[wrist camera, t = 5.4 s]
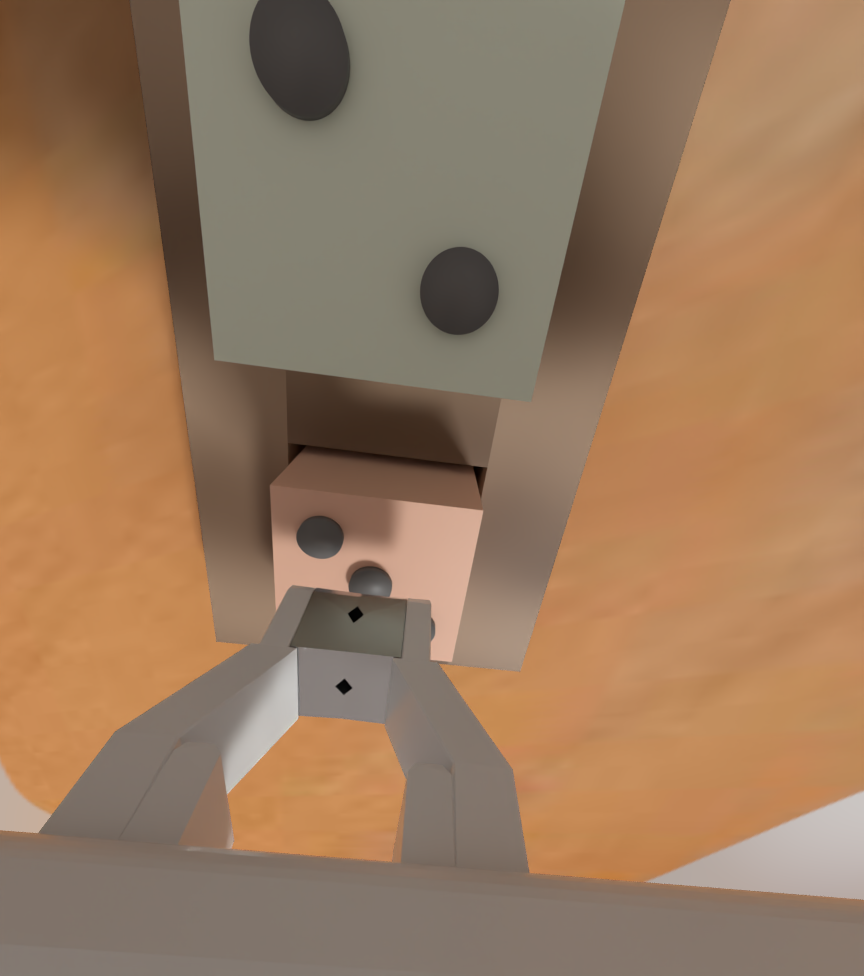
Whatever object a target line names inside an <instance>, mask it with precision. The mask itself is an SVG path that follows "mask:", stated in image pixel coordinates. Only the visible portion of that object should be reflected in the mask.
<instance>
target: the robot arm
mask: <svg viewBox="0 0 864 976" xmlns="http://www.w3.org/2000/svg"><path fill="white" fill-rule="evenodd" d="M430 658H431V602H430V600H423V599H412V598H408V599H407V598H398V597H388V596H379V595H369V594H360V593H352V592H345V591H338V590H330V589H323V588H312V587H305V586H297V585H292V586H291V587H290V588H289V589H288V590H287V592H286V594H285V596H284V597H283V599H282V601H281V603H280V605H279V607H278V609H277V611H276V613H275V615H274V616H273V618H272V620H271V622H270V624H269V626H268V628H267V630H266V632H265V634H264V635H263V637H262V639H261V641H260V643H259V644H254V643H251V644H249V645H248V646H246V647H245V648H243V649H242V650H240V651H239V652H237V653H236V654H234V655H232V656H231V657H229V658H228V659H226V660H225V661H223V662H222V663H220V664H219V665H217V666H215V667H214V668H212V669H211V670H209V671H208V672H206V673H205V674H203V675H202V676H200V677H199V678H197V679H195V680H194V681H192V682H191V683H189V684H188V685H186V686H185V687H183V688H182V689H180V690H178V691H177V692H175V693H174V694H172V695H171V696H169V697H168V698H166V699H165V700H163V701H161V702H160V703H158V704H157V705H155V706H154V707H152V708H151V709H149V710H148V711H146V712H145V713H143V714H141V715H140V716H138V717H137V718H135V719H134V720H132V721H131V722H129V723H128V724H126V725H124V726H123V727H121V728H120V729H118V730H117V731H115V732H114V734H113V735H112V736H111V738H110V739H109V740H108V742H107V743H106V744H105V746H104V747H103V748H102V749H101V751H100V752H99V753H98V755H97V756H96V757H95V759H94V760H93V761H92V763H91V764H90V765H89V767H88V768H87V769H86V771H85V772H84V773H83V775H82V776H81V777H80V779H79V780H78V781H77V782H76V784H75V785H74V786H73V788H72V789H71V790H70V792H69V793H68V794H67V796H66V797H65V798H64V800H63V801H62V802H61V804H60V805H59V806H58V808H57V809H56V810H55V812H54V813H53V814H52V815H51V817H50V818H49V819H48V821H47V822H46V823H45V825H44V826H43V827H42V829H41V830H40V831H39V833H26V832H14V831H0V976H864V900H859V899H846V898H834V897H822V896H807V895H796V894H784V893H772V892H759V891H746V890H733V889H721V888H709V887H696V886H684V885H671V884H659V883H646V882H634V881H622V880H609V879H597V878H585V877H572V876H560V875H547V874H535V873H529V868H528V861H527V855H526V849H525V843H524V837H523V831H522V824H521V818H520V812H519V806H518V800H517V794H516V787H515V781H514V775H513V769H512V768H511V767H510V765H509V764H508V762H507V761H506V759H505V758H504V757H503V755H502V754H501V752H500V751H499V749H498V748H497V747H496V745H495V744H494V742H493V741H492V739H491V738H490V737H489V735H488V734H487V732H486V731H485V729H484V728H483V727H482V725H481V724H480V722H479V721H478V719H477V718H476V717H475V715H474V714H473V712H472V711H471V709H470V708H469V707H468V705H467V704H466V702H465V701H464V699H463V698H462V697H461V695H460V694H459V692H458V691H457V689H456V688H455V687H454V685H453V684H452V682H451V681H450V680H449V678H448V677H447V675H446V674H445V672H444V671H443V670H442V668H441V667H440V665H439V664H438V663H436V662H430ZM298 716H312V717H327V718H343V719H350V720H358V721H366V722H374V723H382V724H385V728H386V731H387V733H388V736H389V738H390V741H391V743H392V746H393V748H394V751H395V753H396V755H397V758H398V760H399V763H400V765H401V768H402V770H403V773H404V775H405V778H406V784H405V789H404V795H403V800H402V806H401V811H400V817H399V822H398V828H397V833H396V839H395V844H394V850H393V858H392V862H387V861H374V860H362V859H350V858H337V857H325V856H313V855H300V854H288V853H275V852H263V851H251V850H238V849H231V848H232V845H233V842H234V836H233V830H232V823H231V817H230V811H229V804H228V798H227V794H228V793H229V792H230V791H231V790H232V789H233V787H234V786H235V785H236V784H237V783H238V782H239V781H240V780H241V779H242V778H243V777H244V776H245V775H246V774H247V773H248V772H249V770H250V769H251V768H252V767H253V766H254V765H255V764H256V763H257V762H258V761H259V760H260V759H261V758H262V757H263V756H264V755H265V753H266V752H267V751H268V750H269V749H270V748H271V747H272V746H273V745H274V744H275V743H276V742H277V741H278V740H279V739H280V738H281V736H282V735H283V734H284V733H285V732H286V731H287V730H288V729H289V728H290V727H291V726H292V725H293V724H294V723H295V722H296V721H297V719H298Z"/></svg>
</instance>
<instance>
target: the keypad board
mask: <svg viewBox="0 0 864 976" xmlns="http://www.w3.org/2000/svg"><path fill="white" fill-rule="evenodd" d="M129 1H130V8H131V15H132V23H133V30H134V38H135V45H136V52H137V60H138V67H139V74H140V82H141V89H142V97H143V104H144V111H145V119H146V126H147V133H148V141H149V148H150V155H151V163H152V170H153V178H154V185H155V192H156V200H157V207H158V214H159V222H160V229H161V237H162V244H163V251H164V259H165V266H166V273H167V281H168V288H169V296H170V303H171V310H172V318H173V325H174V332H175V340H176V347H177V354H178V362H179V369H180V377H181V384H182V391H183V399H184V406H185V413H186V421H187V428H188V436H189V443H190V450H191V458H192V465H193V472H194V480H195V487H196V495H197V502H198V509H199V517H200V524H201V531H202V539H203V546H204V553H205V561H206V568H207V576H208V583H209V590H210V598H211V605H212V612H213V620H214V627H215V635H216V642H226V643H236V644H246V645H249V644H251V643H254V644H259V643H260V641H261V639H262V637H263V635H264V634H265V632H266V630H267V628H268V626H269V624H270V622H271V620H272V618H273V616H274V615H275V613H276V603H275V583H274V562H273V541H272V520H271V500H270V485H271V483H272V482H273V481H274V480H275V479H276V478H277V477H278V476H279V475H280V474H281V473H282V472H283V471H284V470H285V469H286V467H287V466H288V465H289V464H290V463H291V462H292V461H293V460H294V459H295V458H296V457H297V456H298V455H299V454H300V452H301V451H302V450H303V449H304V448H305V447H306V446H307V445H309V446H318V447H326V448H334V449H342V450H350V451H358V452H366V453H374V454H382V455H390V456H398V457H406V458H414V459H422V460H431V461H439V462H447V463H455V464H463V465H471V466H474V467H473V469H474V473H475V477H476V481H477V486H478V490H479V494H480V498H481V502H482V506H483V515H482V520H481V525H480V530H479V535H478V539H477V544H476V549H475V554H474V559H473V563H472V568H471V573H470V578H469V583H468V587H467V592H466V597H465V602H464V607H463V611H462V616H461V621H460V626H459V630H458V635H457V640H456V645H455V650H454V654H453V659H452V662H447V661H437V660H430V662H436V663H438V664H448V665H458V666H468V667H478V668H488V669H499V670H509V671H519V672H520V670H521V667H522V664H523V660H524V657H525V654H526V651H527V648H528V645H529V641H530V638H531V635H532V632H533V629H534V625H535V622H536V619H537V616H538V613H539V609H540V606H541V603H542V600H543V597H544V594H545V590H546V587H547V584H548V581H549V578H550V574H551V571H552V568H553V565H554V562H555V558H556V555H557V552H558V549H559V546H560V543H561V539H562V536H563V533H564V530H565V527H566V523H567V520H568V517H569V514H570V511H571V507H572V504H573V501H574V498H575V495H576V492H577V488H578V485H579V482H580V479H581V476H582V472H583V469H584V466H585V463H586V460H587V456H588V453H589V450H590V447H591V444H592V441H593V437H594V434H595V431H596V428H597V425H598V421H599V418H600V415H601V412H602V409H603V405H604V402H605V399H606V396H607V393H608V390H609V386H610V383H611V380H612V377H613V374H614V370H615V367H616V364H617V361H618V358H619V355H620V351H621V348H622V345H623V342H624V339H625V335H626V332H627V329H628V326H629V323H630V319H631V316H632V313H633V310H634V307H635V304H636V300H637V297H638V294H639V291H640V288H641V284H642V281H643V278H644V275H645V272H646V268H647V265H648V262H649V259H650V256H651V253H652V249H653V246H654V243H655V240H656V237H657V233H658V230H659V227H660V224H661V221H662V217H663V214H664V211H665V208H666V205H667V202H668V198H669V195H670V192H671V189H672V186H673V182H674V179H675V176H676V173H677V170H678V166H679V163H680V160H681V157H682V154H683V151H684V147H685V144H686V141H687V138H688V135H689V131H690V128H691V125H692V122H693V119H694V116H695V112H696V109H697V106H698V103H699V100H700V96H701V93H702V90H703V87H704V84H705V80H706V77H707V74H708V71H709V68H710V65H711V61H712V58H713V55H714V52H715V49H716V45H717V42H718V39H719V36H720V33H721V29H722V26H723V23H724V20H725V17H726V14H727V10H728V7H729V4H730V1H731V0H625V4H624V9H623V13H622V17H621V21H620V26H619V30H618V34H617V38H616V43H615V47H614V51H613V55H612V60H611V64H610V68H609V72H608V77H607V81H606V85H605V89H604V94H603V98H602V102H601V106H600V111H599V115H598V119H597V123H596V128H595V132H594V136H593V140H592V145H591V149H590V153H589V157H588V162H587V166H586V170H585V174H584V179H583V183H582V187H581V191H580V196H579V200H578V204H577V209H576V213H575V217H574V221H573V226H572V230H571V234H570V238H569V243H568V247H567V251H566V255H565V260H564V264H563V268H562V272H561V277H560V281H559V285H558V289H557V294H556V298H555V302H554V306H553V311H552V315H551V319H550V323H549V328H548V332H547V336H546V340H545V345H544V349H543V353H542V357H541V362H540V366H539V370H538V374H537V379H536V383H535V387H534V391H533V396H532V400H531V402H526V401H519V400H511V399H504V398H496V397H488V396H481V395H473V394H466V393H458V392H451V391H443V390H436V389H428V388H421V387H413V386H405V385H398V384H390V383H383V382H375V381H368V380H360V379H353V378H345V377H338V376H330V375H323V374H315V373H307V372H300V371H292V370H285V369H277V368H270V367H262V366H255V365H247V364H240V363H232V362H225V361H217V360H214V352H213V341H212V331H211V321H210V311H209V301H208V291H207V281H206V270H205V260H204V250H203V240H202V230H201V220H200V210H199V200H198V189H197V179H196V169H195V159H194V149H193V139H192V129H191V119H190V108H189V98H188V88H187V78H186V68H185V58H184V48H183V38H182V27H181V17H180V7H179V0H129Z"/></svg>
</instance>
